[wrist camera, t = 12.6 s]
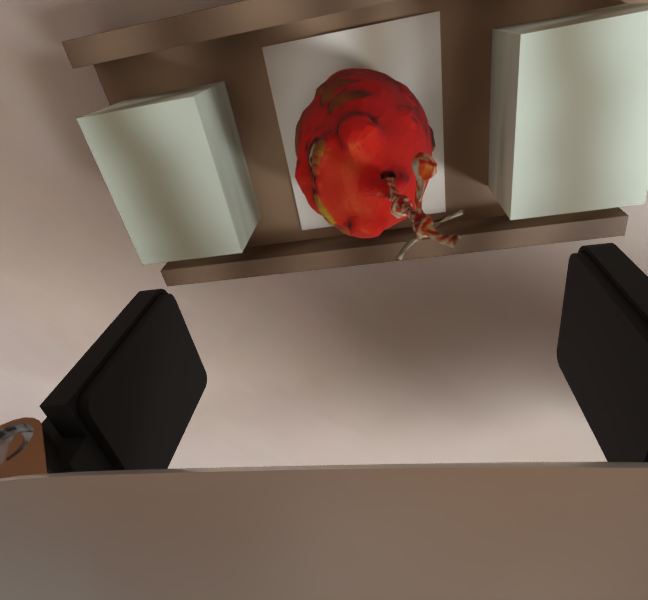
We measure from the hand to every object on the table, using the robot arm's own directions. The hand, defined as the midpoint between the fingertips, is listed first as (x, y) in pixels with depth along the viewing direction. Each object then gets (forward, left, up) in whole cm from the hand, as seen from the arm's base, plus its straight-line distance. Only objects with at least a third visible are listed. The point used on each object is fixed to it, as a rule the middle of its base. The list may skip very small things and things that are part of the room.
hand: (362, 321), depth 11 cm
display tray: (0, 0, -19) cm, 19 cm away
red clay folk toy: (0, 0, -17) cm, 17 cm away
